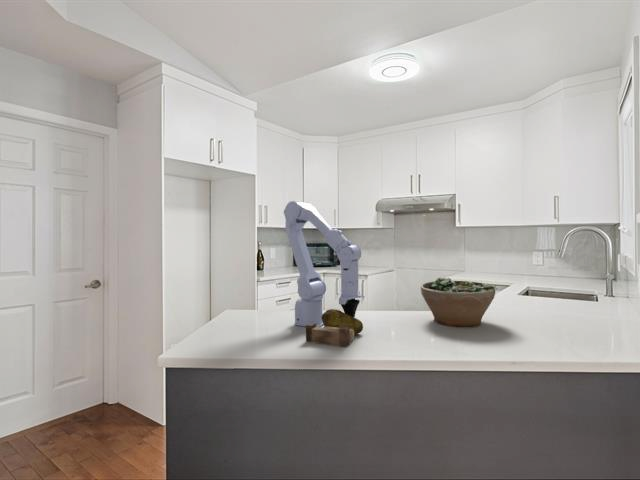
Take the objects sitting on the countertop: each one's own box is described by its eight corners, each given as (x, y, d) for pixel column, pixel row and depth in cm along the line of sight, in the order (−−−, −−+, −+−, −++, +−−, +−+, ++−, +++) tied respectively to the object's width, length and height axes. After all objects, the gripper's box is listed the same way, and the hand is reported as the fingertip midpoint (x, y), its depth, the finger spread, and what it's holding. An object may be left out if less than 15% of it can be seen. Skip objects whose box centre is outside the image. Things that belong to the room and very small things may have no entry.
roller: (325, 323, 116) (328, 331, 118) (320, 333, 113) (324, 341, 116) (352, 326, 113) (355, 335, 115) (348, 336, 110) (351, 345, 112)
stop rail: (306, 341, 113) (305, 325, 113) (310, 338, 116) (310, 322, 115) (346, 347, 108) (345, 329, 107) (349, 344, 110) (349, 327, 110)
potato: (358, 340, 114) (358, 314, 114) (319, 336, 118) (318, 311, 118) (364, 332, 122) (364, 308, 122) (327, 329, 126) (327, 305, 126)
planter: (511, 328, 125) (512, 284, 125) (445, 334, 119) (445, 288, 119) (464, 311, 150) (464, 275, 150) (407, 316, 144) (407, 277, 143)
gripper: (353, 285, 116) (353, 328, 116) (368, 279, 129) (368, 318, 129) (332, 283, 119) (332, 326, 119) (348, 277, 132) (349, 316, 132)
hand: (350, 321), depth 124 cm, fingers closed
